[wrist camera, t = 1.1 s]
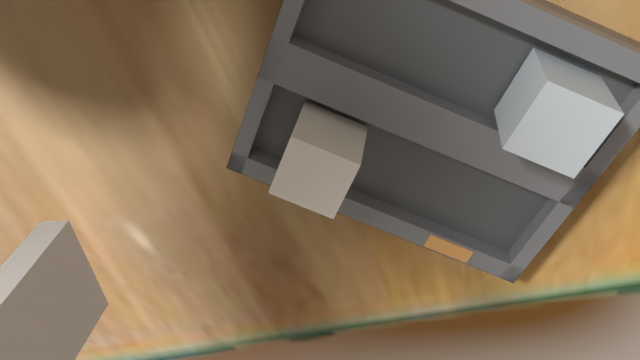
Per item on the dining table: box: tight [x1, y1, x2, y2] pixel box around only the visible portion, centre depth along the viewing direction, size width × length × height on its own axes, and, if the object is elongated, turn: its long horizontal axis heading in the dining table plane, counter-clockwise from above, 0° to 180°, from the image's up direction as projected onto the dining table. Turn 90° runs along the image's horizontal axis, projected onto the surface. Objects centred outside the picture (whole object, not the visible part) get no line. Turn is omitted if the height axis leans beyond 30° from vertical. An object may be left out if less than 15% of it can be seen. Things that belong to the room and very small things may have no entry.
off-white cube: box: [268, 101, 368, 219], centre depth 34 cm, size 4×4×4 cm
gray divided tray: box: [227, 0, 640, 283], centre depth 34 cm, size 20×16×3 cm
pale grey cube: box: [494, 47, 624, 179], centre depth 30 cm, size 4×4×4 cm
